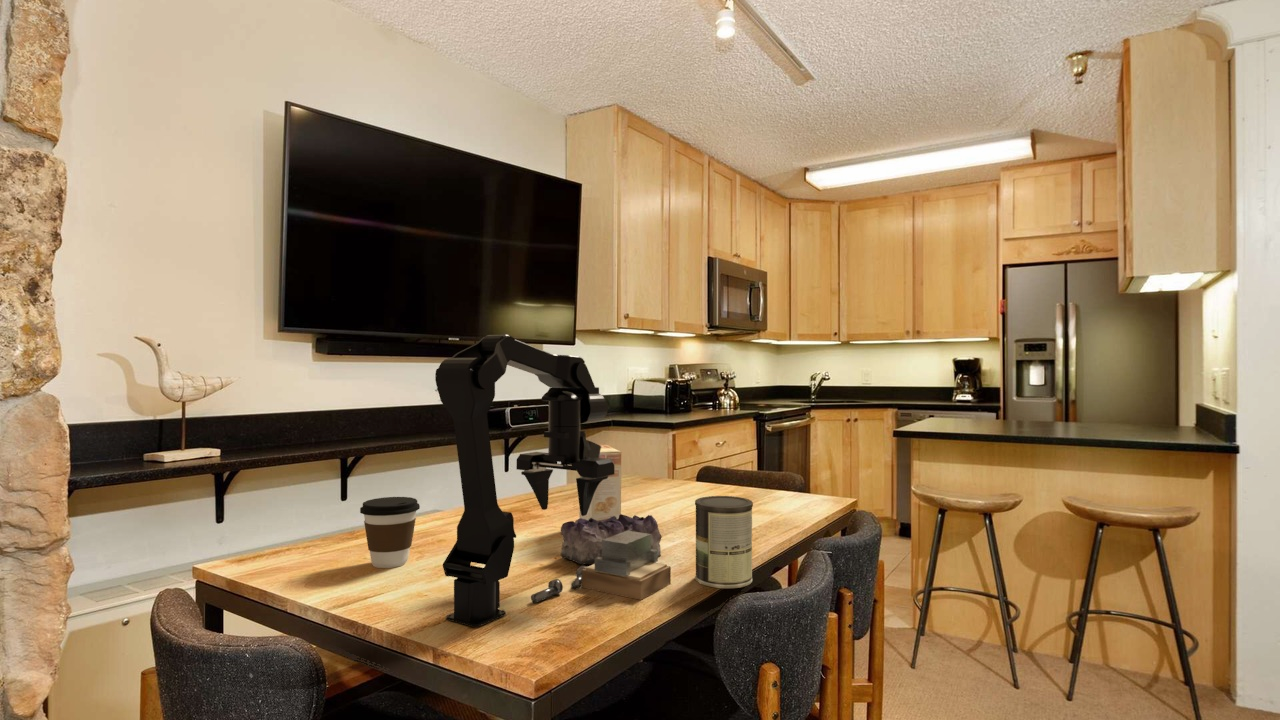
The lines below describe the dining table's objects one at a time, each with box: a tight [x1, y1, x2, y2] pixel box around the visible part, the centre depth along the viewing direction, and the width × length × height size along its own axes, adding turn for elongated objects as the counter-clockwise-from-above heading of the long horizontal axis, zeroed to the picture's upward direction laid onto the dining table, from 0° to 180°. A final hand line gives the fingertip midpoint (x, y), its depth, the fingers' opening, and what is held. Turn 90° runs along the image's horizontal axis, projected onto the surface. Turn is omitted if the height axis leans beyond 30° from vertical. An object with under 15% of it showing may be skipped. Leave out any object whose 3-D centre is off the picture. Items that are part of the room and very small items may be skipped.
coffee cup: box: [359, 496, 421, 569], centre depth 132 cm, size 11×11×12 cm
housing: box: [594, 531, 659, 576], centre depth 119 cm, size 10×6×5 cm, turn 149°
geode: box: [560, 513, 663, 566], centre depth 136 cm, size 20×12×10 cm, turn 109°
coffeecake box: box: [578, 444, 622, 521], centre depth 158 cm, size 15×7×20 cm, turn 15°
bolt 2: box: [570, 565, 588, 590], centre depth 120 cm, size 6×2×2 cm, turn 169°
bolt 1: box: [530, 578, 564, 604], centre depth 113 cm, size 6×2×2 cm
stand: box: [581, 562, 672, 601], centre depth 119 cm, size 10×12×3 cm
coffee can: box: [694, 495, 754, 589], centre depth 123 cm, size 10×10×14 cm
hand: (563, 512), depth 123 cm, fingers open, 9 cm apart
